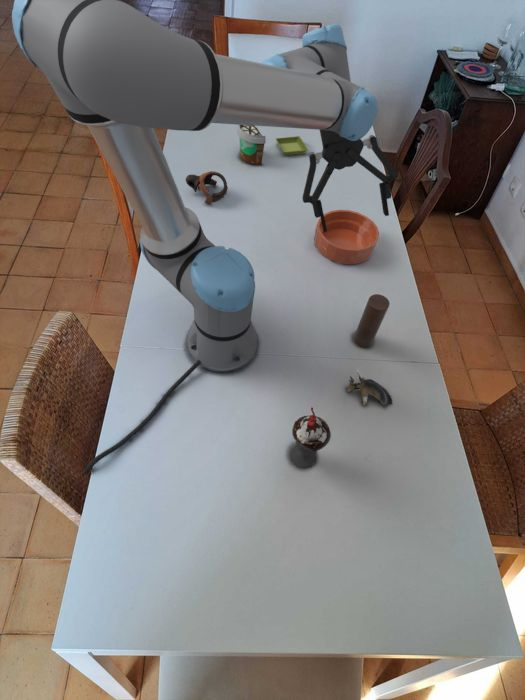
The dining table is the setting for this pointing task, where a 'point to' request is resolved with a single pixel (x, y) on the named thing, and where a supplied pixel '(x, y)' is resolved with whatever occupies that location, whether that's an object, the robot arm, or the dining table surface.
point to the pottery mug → (206, 180)
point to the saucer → (292, 145)
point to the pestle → (371, 320)
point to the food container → (251, 144)
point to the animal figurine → (370, 390)
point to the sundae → (308, 439)
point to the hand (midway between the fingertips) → (355, 222)
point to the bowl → (346, 237)
